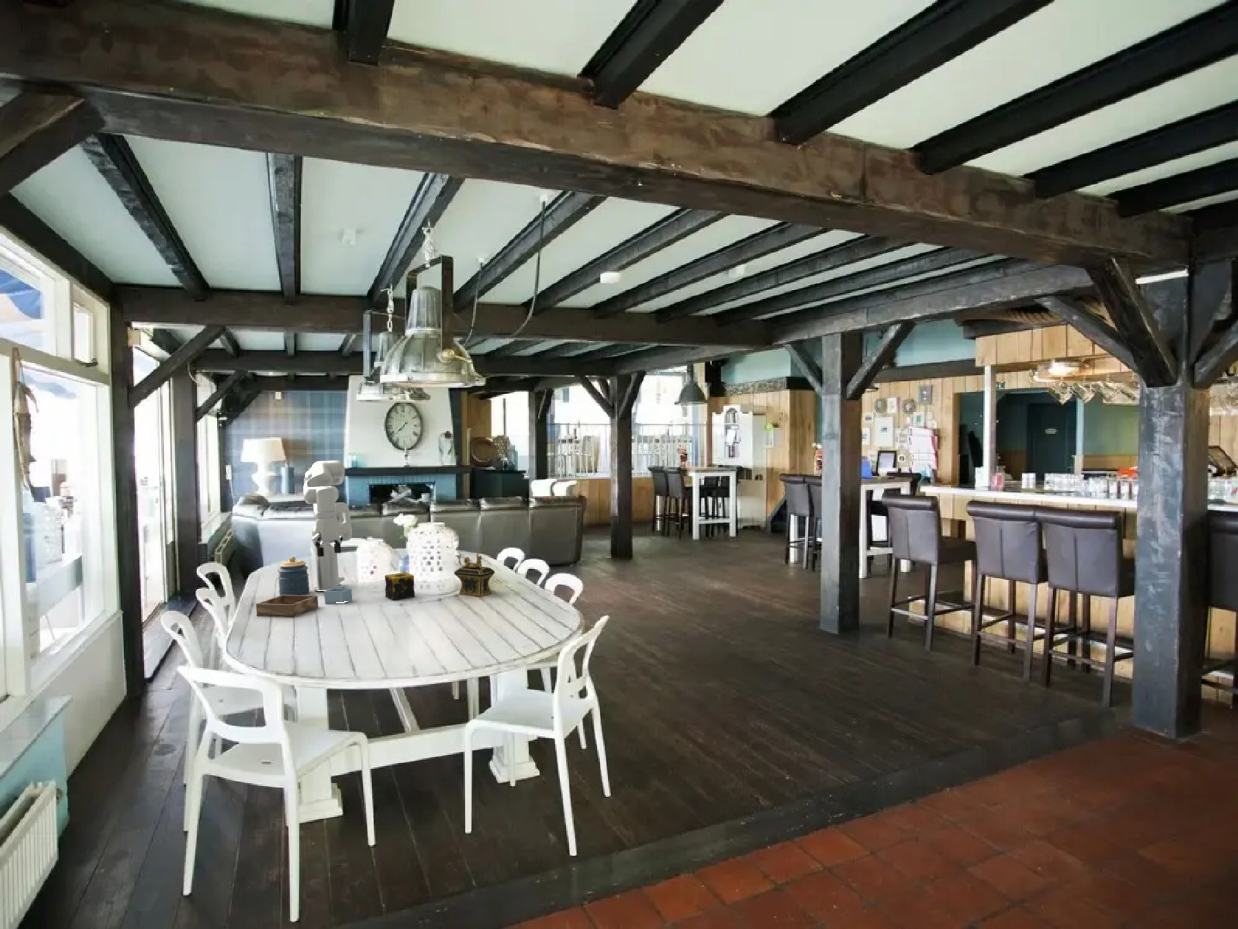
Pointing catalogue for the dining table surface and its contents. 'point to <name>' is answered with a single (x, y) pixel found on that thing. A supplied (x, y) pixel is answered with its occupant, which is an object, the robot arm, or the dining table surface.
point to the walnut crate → (287, 605)
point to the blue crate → (337, 595)
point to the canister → (293, 578)
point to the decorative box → (474, 577)
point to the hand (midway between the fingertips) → (329, 554)
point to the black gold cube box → (399, 586)
